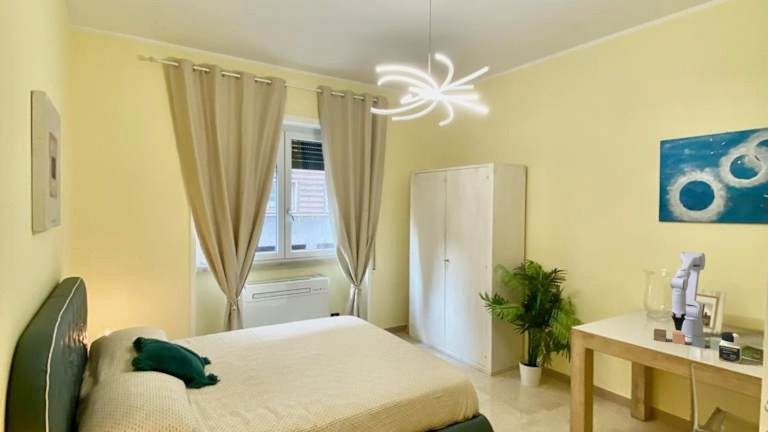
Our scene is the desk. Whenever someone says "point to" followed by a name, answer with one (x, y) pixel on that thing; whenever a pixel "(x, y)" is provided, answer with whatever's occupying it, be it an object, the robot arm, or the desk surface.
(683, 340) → the terracotta cube
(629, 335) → the desk surface
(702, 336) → the slate cube
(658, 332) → the walnut cube
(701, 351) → the desk surface
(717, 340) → the sage cube
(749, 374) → the desk surface
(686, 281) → the robot arm
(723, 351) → the medicine bottle
